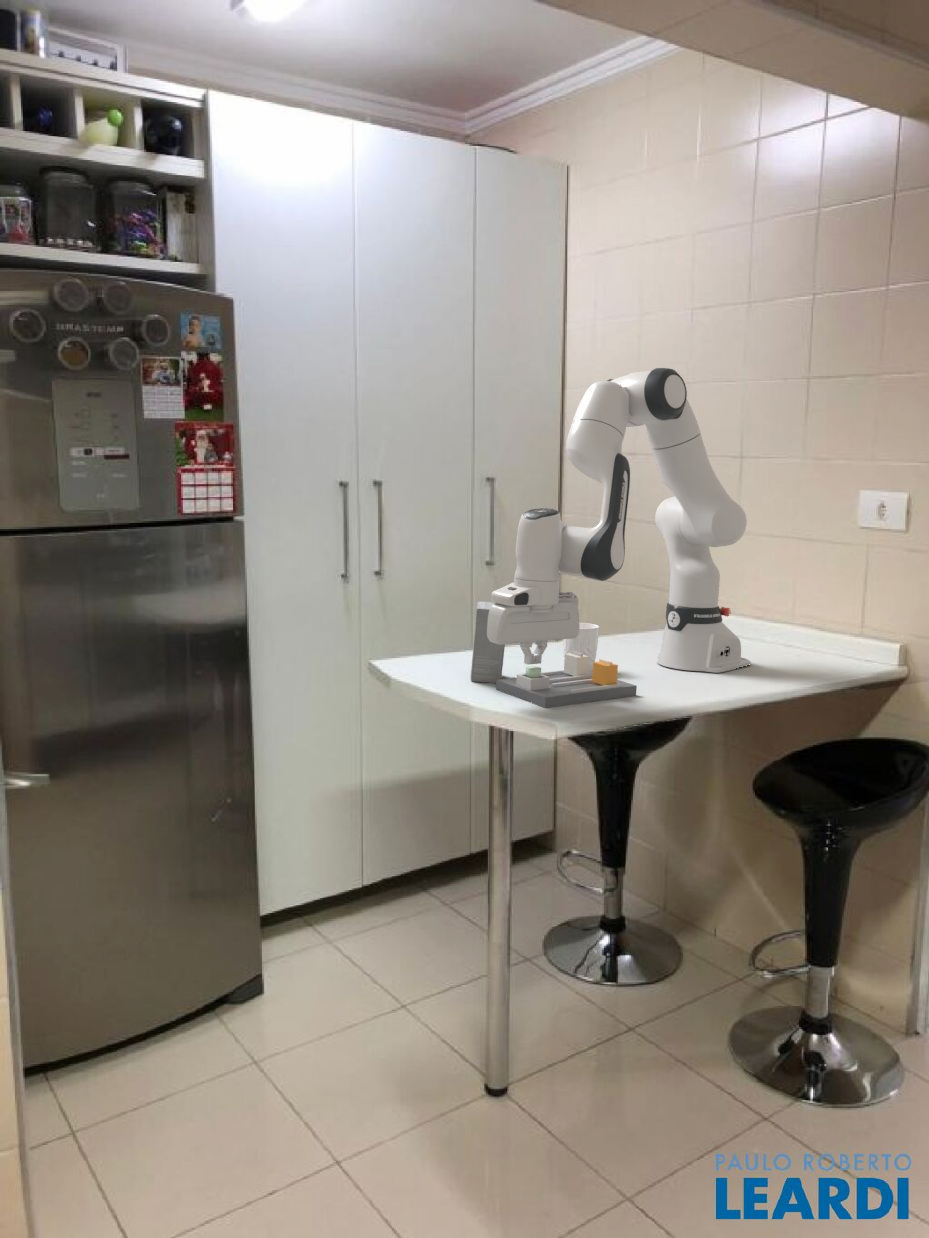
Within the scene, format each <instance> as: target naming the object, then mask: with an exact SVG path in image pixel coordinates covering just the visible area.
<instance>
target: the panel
mask: <svg viewBox="0 0 929 1238" xmlns="http://www.w3.org/2000/svg"><path fill="white" fill-rule="evenodd" d="M592 674H593V671H592V672H591V671H588V675H580V676H572V675H569V674H566V673H564V669H560V670H553V671H543V672H542V671H541V678H533V679H531V678H528V677H525V676H526V673H521V674H520V673H519V674H516V677H508V678H501V679H500V680H497V683H496V690H497V691H499V692H501V693H504V694H507V693H508V694H507V695H509V694H510V696H512V695H513V697H514V698H517V697H518V698H517V699H519V700H522V701H525V702H529V703H531V702H532V703H531V704H533V703H535V704H534V705H536V704H537V705H536V706H539V707H541V708H544V709H546V708H554V707H561V706H567V705H568V706H569V705H575V704H583V703H584V704H585V703H591V702H596V701H597V702H598V701H604V700H611V699H619V698H627V696H628V697H635V696H637V685H636V684H633V683H629V682H626V681H622V680H620V679H617V684H611V685H600V684H597V683H594V682H592ZM634 695H635V696H634Z"/></svg>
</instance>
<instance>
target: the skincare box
mask: <svg viewBox="0 0 929 1238" xmlns="http://www.w3.org/2000/svg"><path fill="white" fill-rule="evenodd" d="M493 604H495V602H492V601H491V602H490V601H477V603H476V610H475V611H476V612H475V613H476V614H475V622H474V623H475V625H474V626H475V627H474V635H473V636H474V637H473V647H472V660H471V667H470V669H471V671H470V681H471V682H474V683H475V682H476V683H477V682H479V683H480V682H481V683H491V684H493V683H495V684H497V680H500V679H502V676H503V667H504V658H505V657H504V656H505V649H506V648H505V646H506V644H501V645H499V644H495V643H492V642H490V641H489V639H488V637H487V623H488V615H489V610H490V608H491V606H492V605H493Z"/></svg>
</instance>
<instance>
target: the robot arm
mask: <svg viewBox="0 0 929 1238" xmlns="http://www.w3.org/2000/svg"><path fill="white" fill-rule="evenodd" d="M686 385H687V384H686V383H685V380H684V379H683V377H682V376H681V375H680V374H679V373H678V371H676V370H675V369H673V368H667V367H656V368H654V369H647V370H639V371H634V372H631V373H628V374H625V375H622V376H619V377H616V378H610V379H607V380H599V381H596V382H593V383H592V384H591V385H590V386H589V387H588V388H587V389H586V391H585V392H584V395H583V396H582V398H581V399H580V401H579V404H578V406H577V409H576V411H575V413H574V416H573V417H572V418H573V419H572V422H571V425H570V428H569V431H568V434H567V438H566V442H565V443H566V444H565V451H566V454H567V458H568V459H569V461H570V463H571V464H572V465H573V466H574V468H576V469H577V470H578V471H579V472H580V473H582V474H583V475H584V476H586V477H588V478H590V479H592V480H594V481H596V482H598V483H600V484H602V486H603V492H602V493H603V495H602V501H601V511H600V517H599V523H598V524H597V525H596V526H594V527H593V526H592V527H587V526H586V527H585V526H576V525H575V526H573V525H569V524H566V523H565V522H563V521H562V520H561V519H562V518H561V513H560V511H558V510H557V509H554V508H546V507H545V508H544V507H543V508H541V507H540V508H534V509H533V508H531V509H527V510H525V512H523V513H522V514H521V516H520V519H519V522H518V527H517V532H516V541H515V554H514V555H515V558H516V559H515V560H516V569H515V572H514V575H513V576H514V578H513V582H511V583H509V584H507V585H504V586H503V587H500V588H498V589H496V590H493V591H492V592H491V594H490V596H491V597H490V600H491V602H492V603H495V604H493V605H492V606H491V608H490V610H489V615H488V623H487V637H488V639H489V641H490V642H492V643H495V644H499V645H501V644H505V645H512V644H519V647H520V649H521V651H522V653H523V655H524V656H523V658H524V659H523V660H524V661H523V662H524V664H525V665H529V666H530V665H537V664H538V665H539V664H542V657H543V655H544V652H545V651H546V649H547V647H548V641H560V640H562V641H563V639H574V638H576V637H577V636H578V634H579V623H580V613H579V608H578V607H579V597H578V596H577V595H576V594H574V593H573V592H572V591H566V592H564V591H563V592H562V591H560V589H561V588H560V586H561V576H560V575H561V574H562V575H568V576H576V577H583V578H587V579H592V580H596V581H600V582H605V581H607V580H609V579H611V578H612V577H614V576H615V575H616V574H617V573H618V572H619V571H620V570H621V569H622V568H623V565H624V561H625V554H626V551H625V549H626V547H625V546H626V545H625V544H626V543H625V535H626V534H625V531H626V524H627V513H628V506H629V495H630V487H631V484H630V483H631V467H630V462H629V460H628V459H627V457H626V456H625V455H624V454H623V452H622V450H623V449H622V448H623V441H624V438H625V434H626V431H627V430H626V429H627V428H632V427H640V426H643V425H645V426H646V431H647V437H648V441H649V444H650V448H651V451H652V455H653V458H654V461H655V464H656V469H657V471H658V475H659V478H660V480H661V482H662V483H663V484H664V486H666V487H667V488H668V489H669V490H670V491H671V493H672V494H673V495H674V496H670V497H668V498H665V499H664V500H662V501H661V503H659V505H658V507H657V508H656V511H655V515H654V521H655V526H656V528H657V530H658V531H659V533H660V534H661V536H662V537H663V541H664V544H665V547H666V551H667V556H668V557H667V558H668V563H669V575H670V576H669V593H668V602H667V603H666V606H665V607H666V608H665V618H666V624H665V627H664V631H663V635H662V636H663V637H662V642H661V648H660V652H659V653H658V656H657V658H658V659H657V661H656V663H658V664H659V665H661V666H663V667H666V668H670V669H674V670H675V669H676V670H682V671H683V670H684V671H690V672H691V671H692V672H693V671H694V672H708V673H715V674H716V673H718V674H719V673H723V672H728V671H733V670H736V668H737V669H740V668H739V667H742V668H744V667H743V666H746V665H749V664H751V665H752V661H751V660H749V659H747V658H745V657H742V643H741V640H740V638H739V637H738V636H737V634H735V633H734V632H732V630H731V629H730V628H729V627H728V626H726V624H725V623H724V622H723V616H725V617H730V615H731V614H732V610H731V608H730V607H725V606H721V607H720V606H719V596H720V595H719V594H720V582H721V581H720V580H721V573H720V570H719V568H718V566H717V565H716V564H715V562H714V560H713V558H712V553H711V550H710V548H721V547H726V546H731V545H734V544H736V543H738V541H740V540H741V538H743V536H744V533H745V531H746V527H747V516H746V513H745V510H744V509H743V508H742V506H741V505H740V504H738V503H737V502H736V501H735V500H733V498H732V497H731V496H730V495H729V493H727V491H726V490H725V488H724V487H723V485H722V483H721V481H720V480H719V478H718V476H717V475H716V473H715V472H714V469H713V467H712V465H711V462H710V459H709V457H708V454H707V450H706V447H705V444H704V440H703V436H702V433H701V430H700V427H699V424H698V420H697V418H696V416H695V413H694V410H693V409H692V407H691V405H690V403H689V401H688V399H687V397H688V393H687V392H688V391H687V386H686ZM533 643H534V644H535V645H536V647H535V649H534V652H533V653H532V650H531V648H532V647H533ZM746 667H747V666H746Z"/></svg>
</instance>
